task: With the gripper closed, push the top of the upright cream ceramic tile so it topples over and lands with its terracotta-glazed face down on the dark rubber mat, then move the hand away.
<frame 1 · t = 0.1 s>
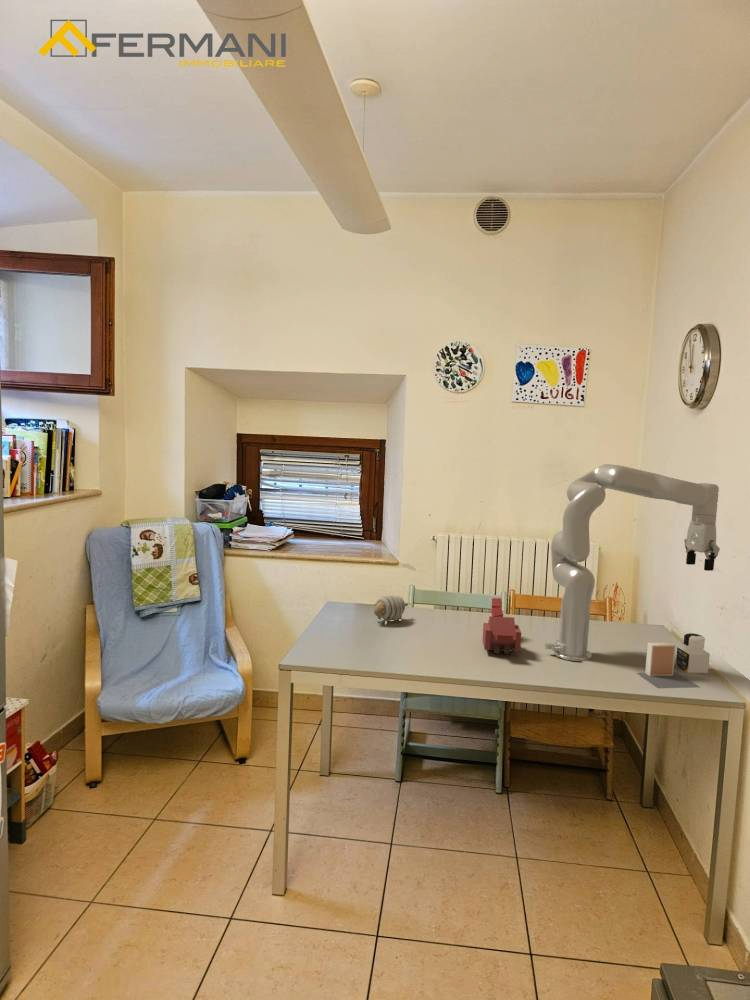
hand: (699, 567, 219), 31 cm above the table, tool pointing down, fingers open, 9 cm apart
toy sheep: (390, 622, 247), on the table
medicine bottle: (691, 671, 206), on the table
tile: (659, 674, 200), point 1 cm above the table, touching mat
mat: (667, 681, 195), on the table
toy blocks: (498, 647, 223), on the table
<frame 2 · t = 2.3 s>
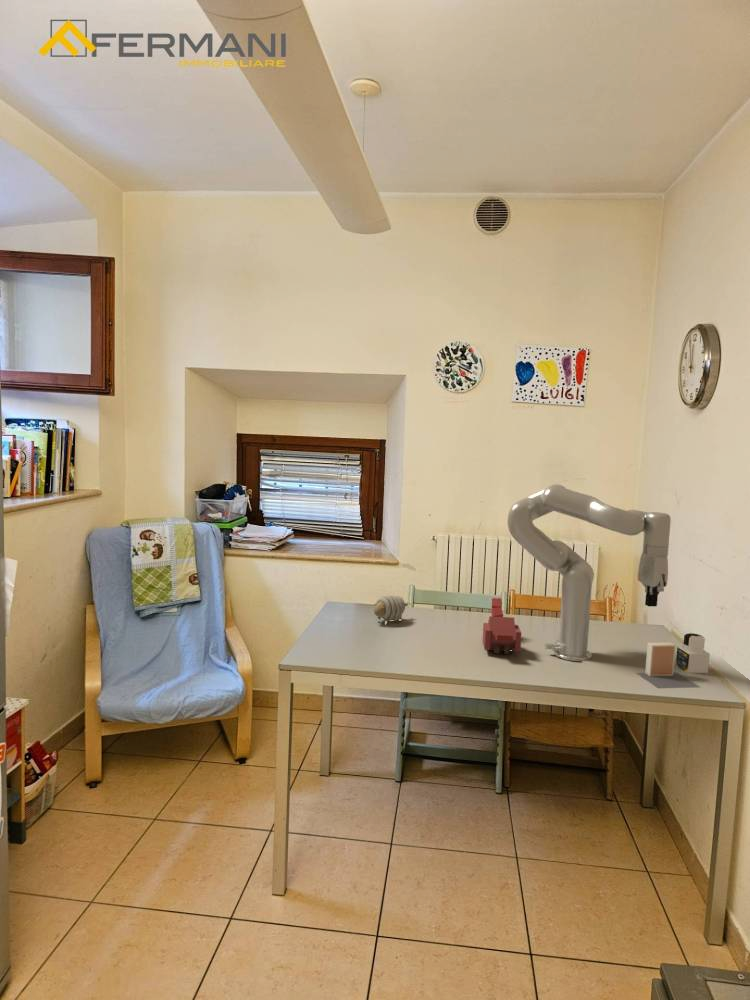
hand: (650, 605, 205), 21 cm above the table, tool pointing down, fingers closed
nothing on the table moved.
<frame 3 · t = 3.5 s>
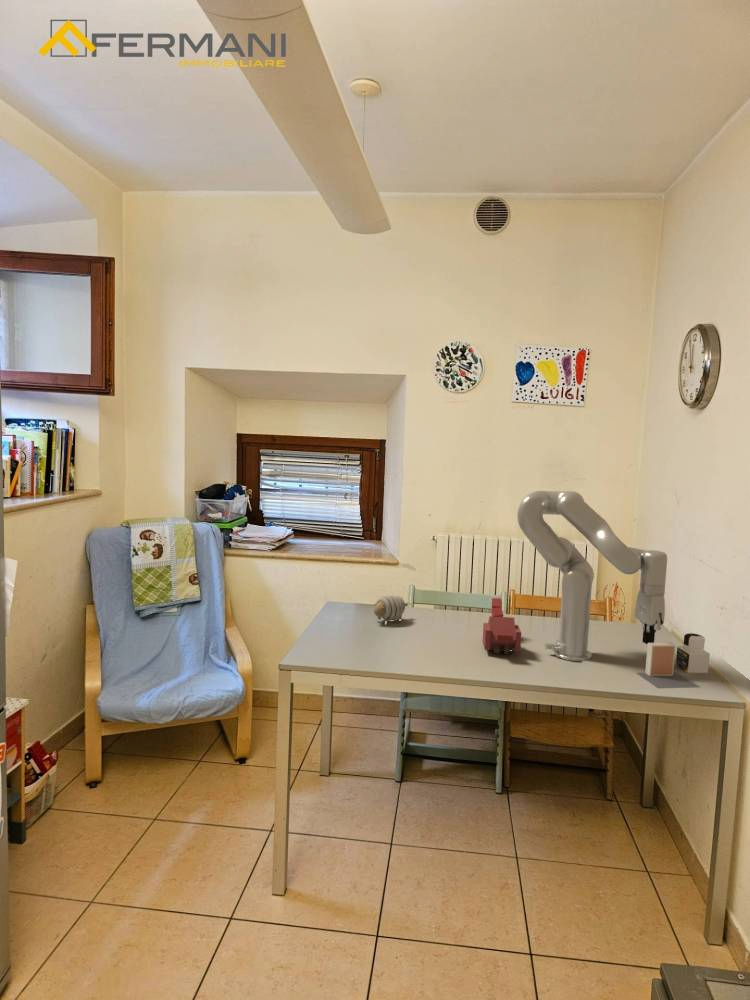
hand: (648, 642, 206), 8 cm above the table, tool pointing down, fingers closed
nothing on the table moved.
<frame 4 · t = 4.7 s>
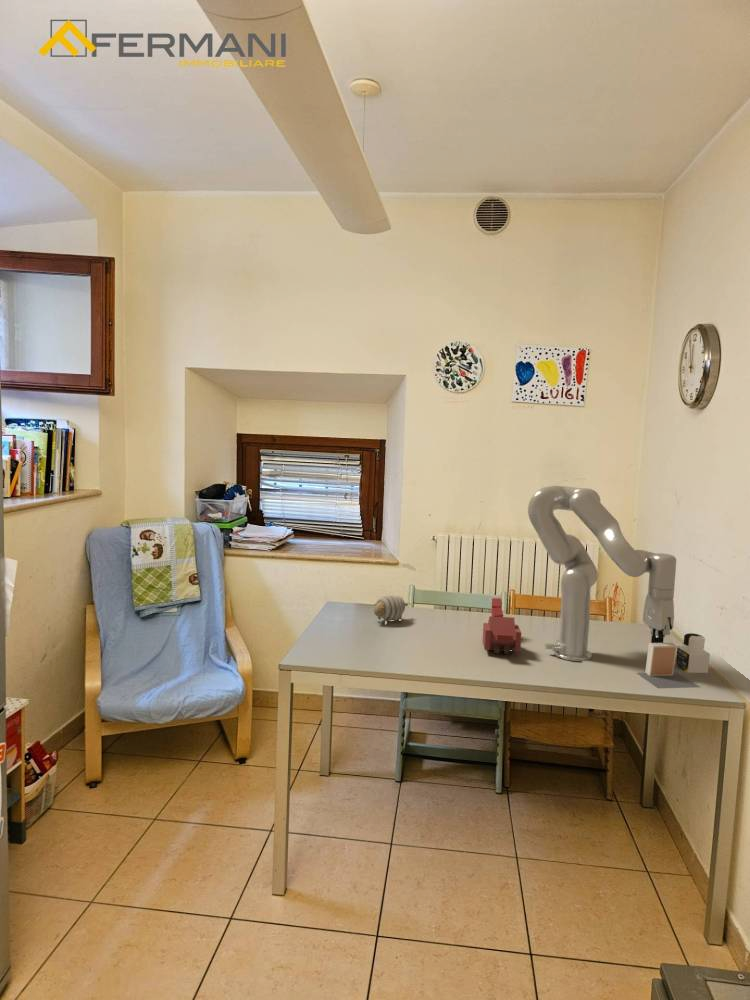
hand: (656, 648, 201), 8 cm above the table, tool pointing down, fingers closed
nothing on the table moved.
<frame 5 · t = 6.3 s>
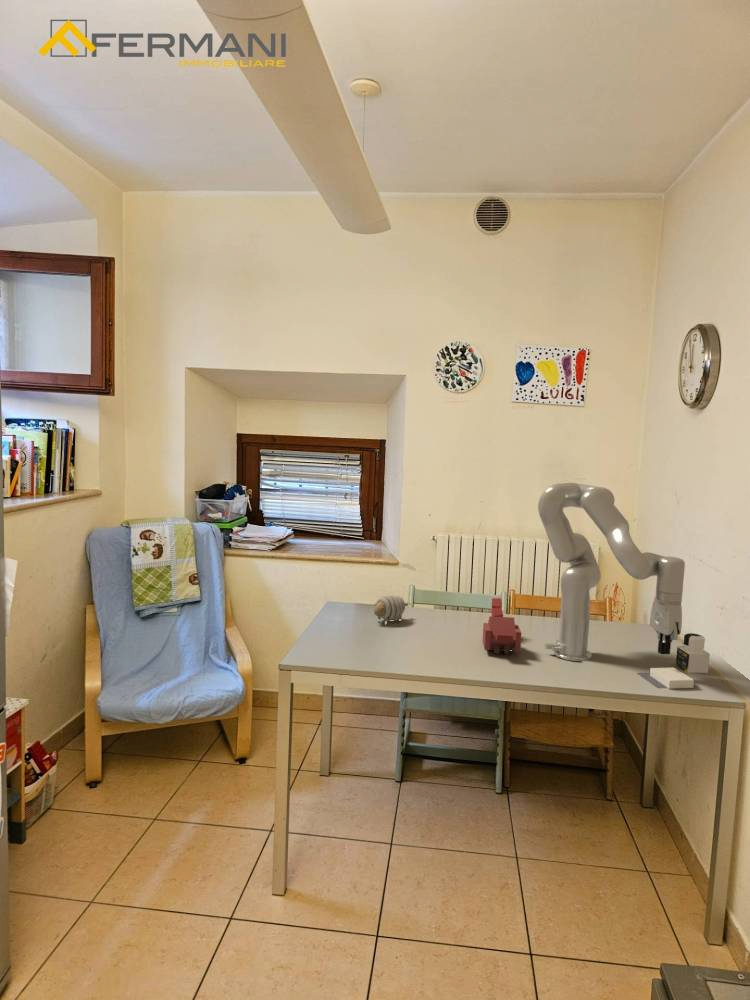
hand: (663, 653, 197), 8 cm above the table, tool pointing down, fingers closed
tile: (661, 671, 198), point 2 cm above the table, tilted 90°, touching mat
everything else where it was.
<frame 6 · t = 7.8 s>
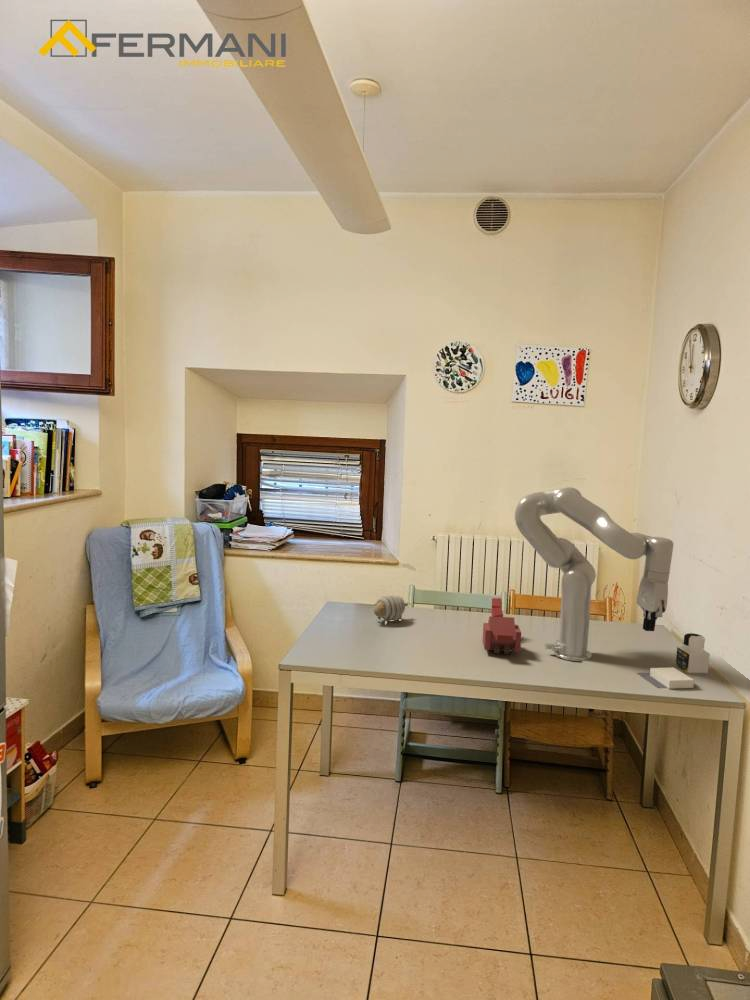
hand: (648, 630, 204), 13 cm above the table, tool pointing down, fingers closed
nothing on the table moved.
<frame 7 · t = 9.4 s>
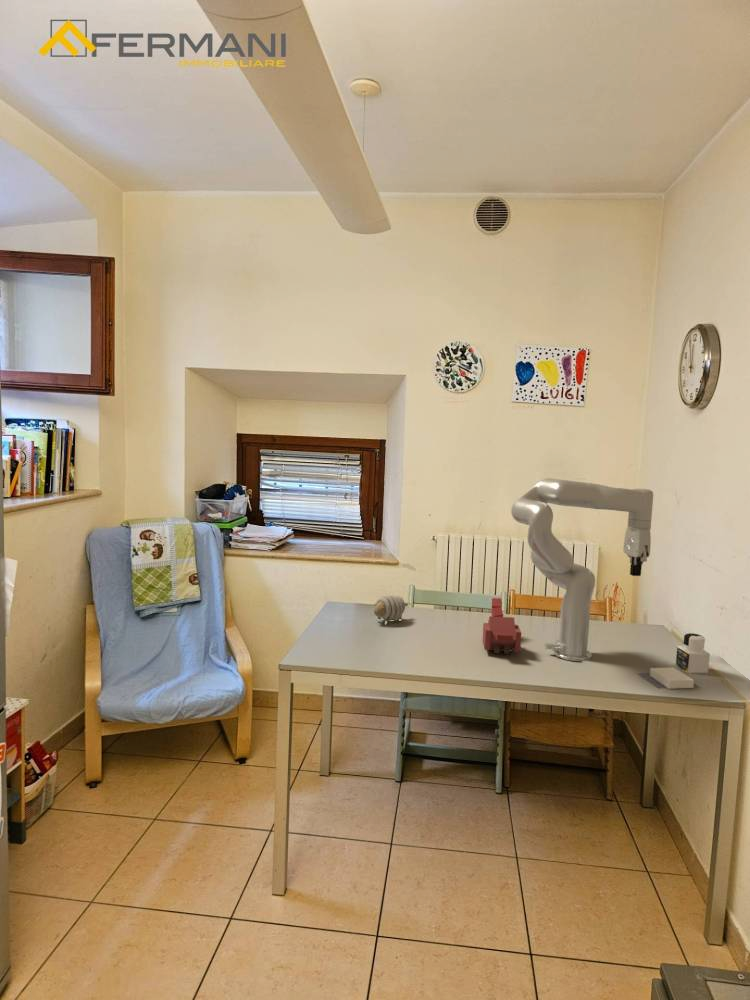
hand: (635, 575, 221), 27 cm above the table, tool pointing down, fingers closed
nothing on the table moved.
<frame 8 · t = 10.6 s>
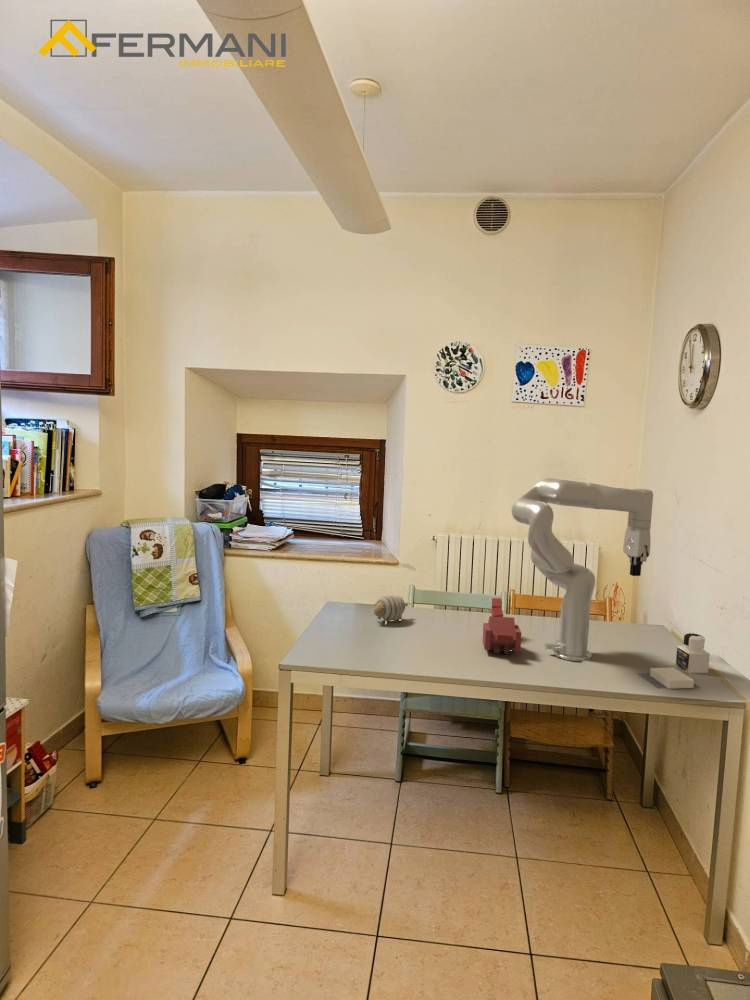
hand: (635, 575, 221), 27 cm above the table, tool pointing down, fingers closed
nothing on the table moved.
at the end: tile tilted 90°; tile inside the target area (3.6 cm from its centre), point 2.0 cm above the table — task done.
